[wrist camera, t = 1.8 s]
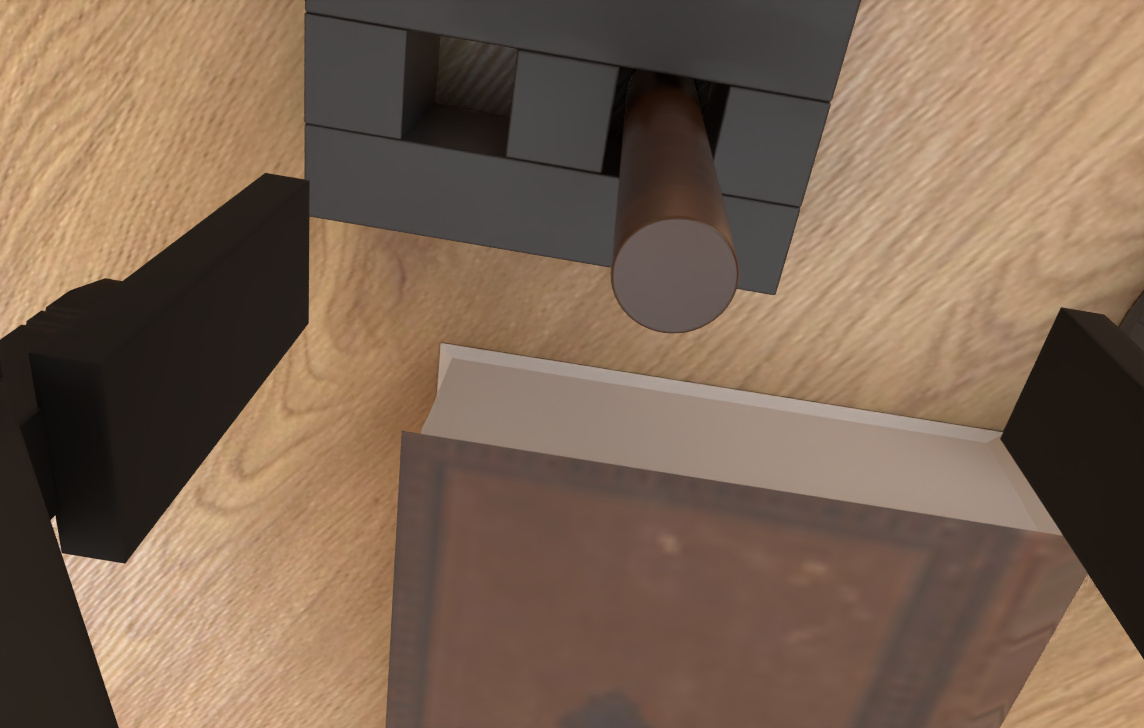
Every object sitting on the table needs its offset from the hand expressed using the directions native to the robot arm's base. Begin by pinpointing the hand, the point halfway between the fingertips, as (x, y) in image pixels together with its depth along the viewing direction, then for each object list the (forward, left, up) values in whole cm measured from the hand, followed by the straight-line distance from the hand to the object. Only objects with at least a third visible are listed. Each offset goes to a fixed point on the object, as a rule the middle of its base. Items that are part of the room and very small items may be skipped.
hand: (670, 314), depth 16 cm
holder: (0, -3, -17) cm, 18 cm away
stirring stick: (0, 0, -17) cm, 17 cm away
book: (+25, +6, -17) cm, 31 cm away
